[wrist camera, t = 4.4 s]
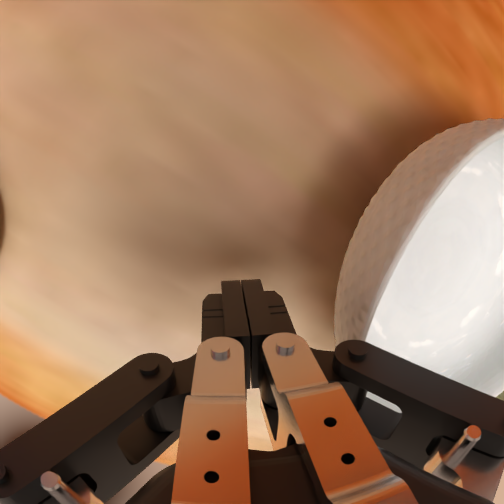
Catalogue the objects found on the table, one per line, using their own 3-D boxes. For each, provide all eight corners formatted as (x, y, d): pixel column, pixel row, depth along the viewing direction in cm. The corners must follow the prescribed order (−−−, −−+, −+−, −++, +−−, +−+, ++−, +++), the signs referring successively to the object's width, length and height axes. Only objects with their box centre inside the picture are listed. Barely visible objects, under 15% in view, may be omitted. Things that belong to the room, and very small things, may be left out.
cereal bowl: (384, 52, 12) (483, 27, 6) (534, 190, 16) (601, 221, 10) (254, 339, 18) (275, 441, 11) (436, 372, 22) (478, 430, 15)
